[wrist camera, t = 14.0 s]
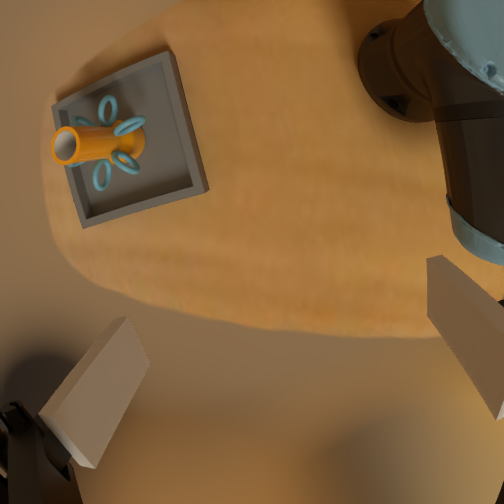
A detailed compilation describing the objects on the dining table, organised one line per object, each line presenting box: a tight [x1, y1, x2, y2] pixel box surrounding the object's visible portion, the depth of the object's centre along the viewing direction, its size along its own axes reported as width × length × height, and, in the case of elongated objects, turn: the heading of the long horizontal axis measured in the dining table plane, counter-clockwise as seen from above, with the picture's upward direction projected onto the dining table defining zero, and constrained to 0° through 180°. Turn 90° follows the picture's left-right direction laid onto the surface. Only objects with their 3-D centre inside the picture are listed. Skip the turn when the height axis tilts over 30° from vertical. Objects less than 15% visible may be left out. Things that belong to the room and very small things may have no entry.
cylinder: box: [51, 95, 146, 191], centre depth 34 cm, size 12×10×15 cm
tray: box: [51, 51, 210, 229], centre depth 40 cm, size 20×20×3 cm
